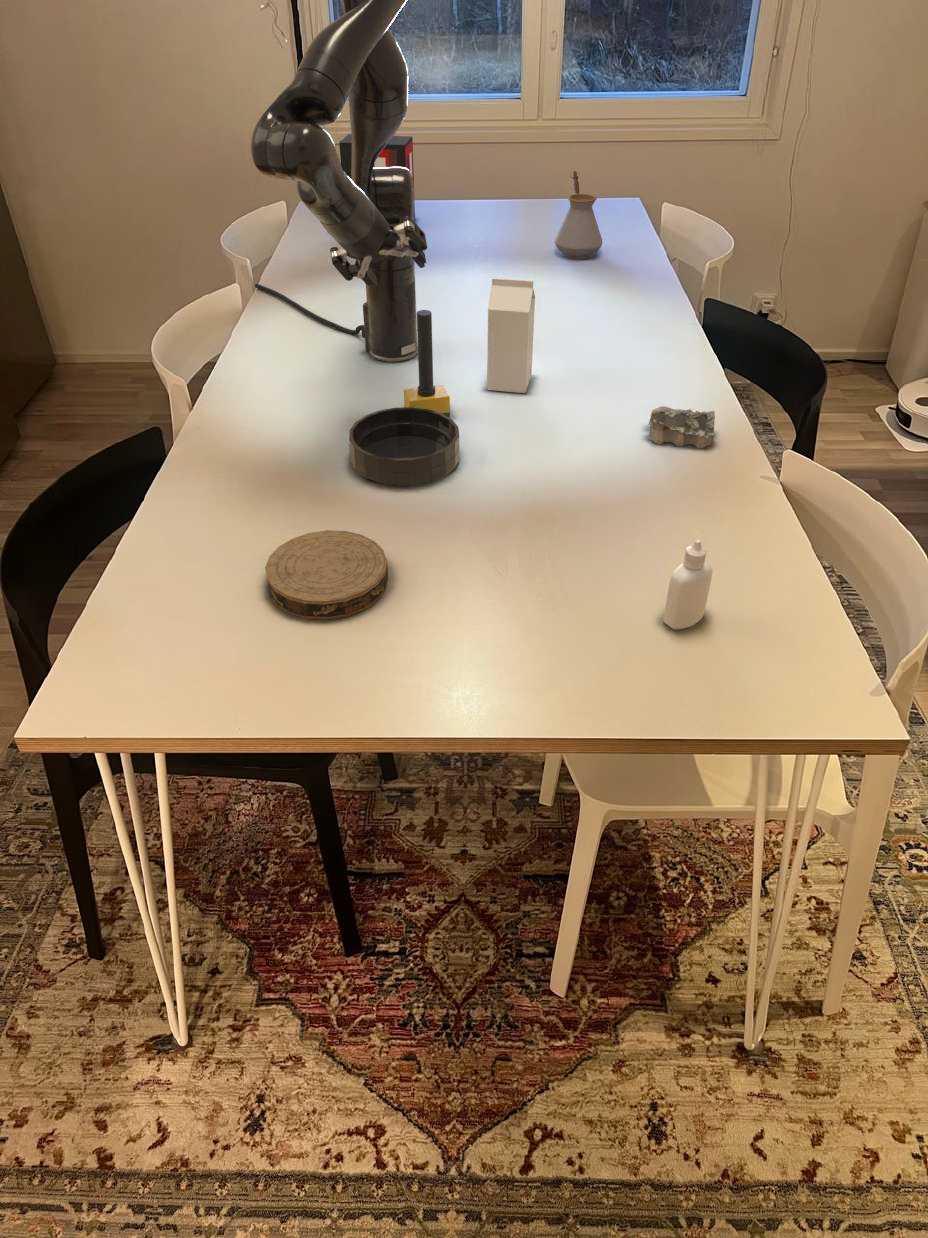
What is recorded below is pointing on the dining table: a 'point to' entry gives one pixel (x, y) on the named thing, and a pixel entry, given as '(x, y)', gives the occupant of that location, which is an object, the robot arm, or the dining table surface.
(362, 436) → the bowl
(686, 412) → the egg carton
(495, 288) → the milk carton
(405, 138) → the cleaning product box
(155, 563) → the dining table surface
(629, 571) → the dining table surface
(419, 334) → the sponge wand
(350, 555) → the wood slice
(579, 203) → the coffee pot
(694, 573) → the eye dropper bottle
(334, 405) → the dining table surface
